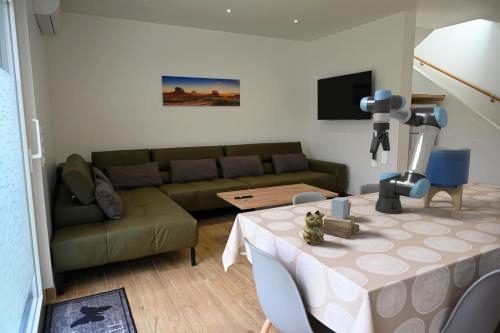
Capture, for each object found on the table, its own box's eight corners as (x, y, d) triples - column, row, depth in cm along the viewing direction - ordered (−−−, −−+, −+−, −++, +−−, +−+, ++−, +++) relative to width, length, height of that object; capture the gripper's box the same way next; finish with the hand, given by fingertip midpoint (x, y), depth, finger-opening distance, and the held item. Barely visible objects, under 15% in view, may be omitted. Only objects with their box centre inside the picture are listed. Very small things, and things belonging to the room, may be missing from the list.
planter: (439, 199, 224) (443, 145, 219) (476, 209, 199) (481, 148, 194) (408, 202, 216) (412, 147, 211) (443, 213, 191) (448, 150, 186)
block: (336, 214, 163) (337, 197, 162) (348, 217, 159) (348, 198, 158) (331, 217, 159) (331, 199, 157) (342, 219, 155) (343, 201, 153)
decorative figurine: (308, 246, 141) (308, 213, 139) (298, 240, 149) (298, 208, 147) (326, 243, 145) (327, 210, 143) (315, 237, 153) (316, 206, 151)
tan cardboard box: (332, 226, 170) (333, 219, 169) (358, 232, 160) (359, 224, 160) (319, 233, 159) (319, 225, 159) (346, 240, 150) (346, 232, 149)
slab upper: (330, 220, 167) (330, 212, 167) (354, 223, 162) (354, 215, 161) (323, 227, 157) (323, 218, 156) (349, 230, 151) (349, 222, 151)
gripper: (383, 122, 173) (381, 161, 176) (363, 122, 154) (361, 166, 157) (398, 121, 168) (395, 163, 171) (379, 122, 149) (377, 168, 152)
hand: (379, 165), depth 164 cm, fingers open, 13 cm apart
